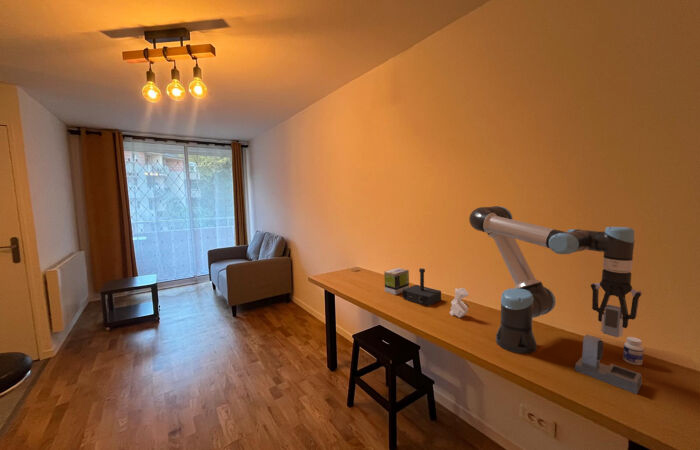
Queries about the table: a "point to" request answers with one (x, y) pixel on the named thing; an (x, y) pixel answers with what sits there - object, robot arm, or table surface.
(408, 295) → the dark box with post
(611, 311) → the long gray rectangular block
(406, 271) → the tea box
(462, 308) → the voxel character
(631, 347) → the pill bottle
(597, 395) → the table surface
